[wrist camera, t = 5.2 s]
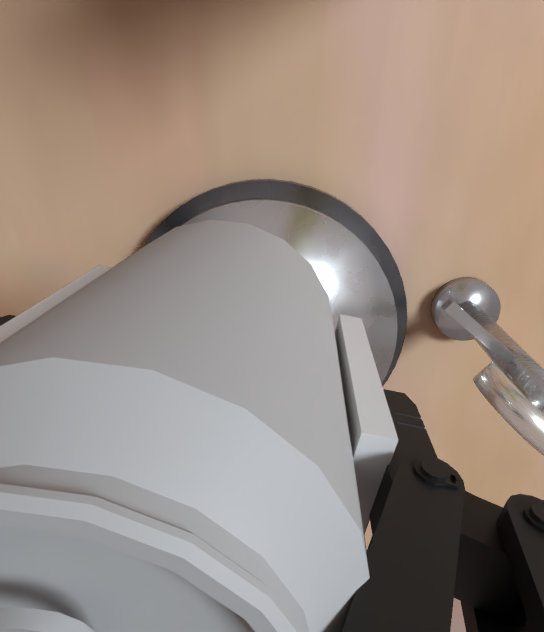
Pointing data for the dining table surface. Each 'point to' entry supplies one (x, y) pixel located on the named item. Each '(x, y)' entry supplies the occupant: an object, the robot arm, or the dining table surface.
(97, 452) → the can
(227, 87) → the dining table surface
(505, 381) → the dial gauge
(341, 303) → the platter
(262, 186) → the turntable base
